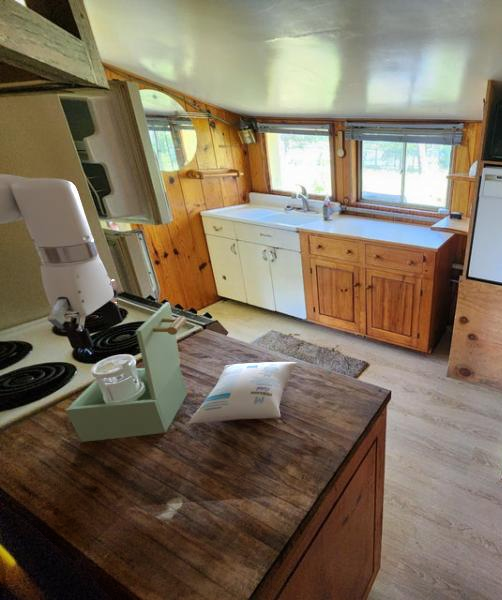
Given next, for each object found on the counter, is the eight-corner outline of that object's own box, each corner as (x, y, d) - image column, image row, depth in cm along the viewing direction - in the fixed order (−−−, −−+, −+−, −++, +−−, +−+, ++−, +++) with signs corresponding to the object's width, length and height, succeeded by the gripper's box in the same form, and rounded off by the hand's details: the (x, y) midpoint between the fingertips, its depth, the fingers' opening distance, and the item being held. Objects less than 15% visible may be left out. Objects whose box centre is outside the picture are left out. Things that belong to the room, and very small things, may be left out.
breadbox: (81, 442, 67) (65, 410, 64) (116, 400, 79) (104, 370, 75) (165, 432, 70) (154, 401, 67) (187, 393, 82) (179, 365, 78)
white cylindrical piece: (130, 428, 70) (107, 372, 64) (105, 421, 72) (79, 365, 65) (159, 406, 76) (141, 353, 70) (136, 400, 78) (115, 347, 72)
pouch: (222, 352, 85) (183, 404, 67) (297, 353, 87) (279, 403, 69) (226, 377, 88) (190, 434, 70) (298, 377, 90) (281, 431, 72)
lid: (135, 330, 60) (167, 331, 61) (165, 301, 71) (191, 302, 72) (151, 400, 66) (179, 399, 68) (176, 363, 78) (200, 363, 79)
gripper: (77, 239, 65) (104, 315, 72) (-1, 268, 50) (43, 360, 57) (120, 240, 66) (142, 314, 74) (58, 267, 51) (94, 358, 58)
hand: (99, 334), depth 65 cm, fingers open, 9 cm apart
